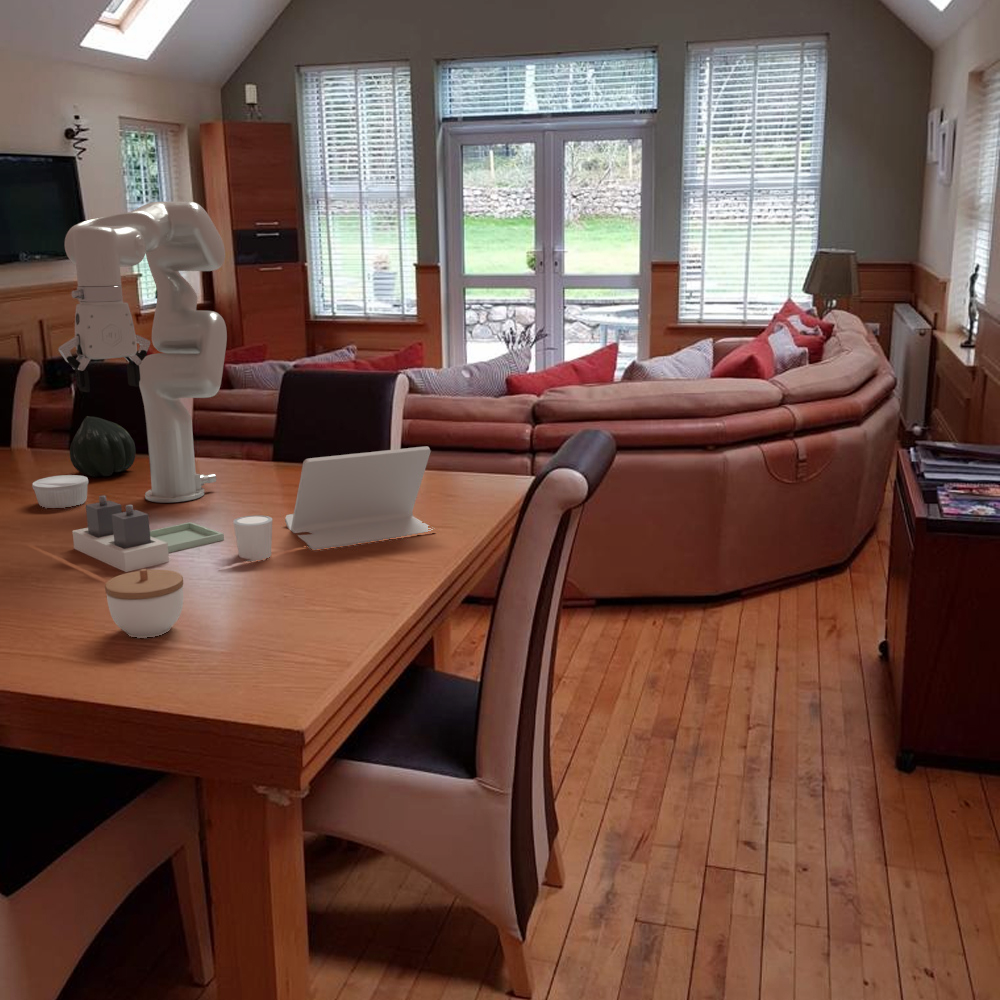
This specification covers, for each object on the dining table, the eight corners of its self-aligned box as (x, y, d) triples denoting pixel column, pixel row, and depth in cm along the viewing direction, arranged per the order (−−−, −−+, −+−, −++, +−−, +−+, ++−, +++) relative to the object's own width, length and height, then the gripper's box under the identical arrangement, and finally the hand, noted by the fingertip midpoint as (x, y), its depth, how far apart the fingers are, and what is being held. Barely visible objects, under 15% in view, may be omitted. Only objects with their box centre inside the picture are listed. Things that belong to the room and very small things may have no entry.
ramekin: (37, 513, 219) (34, 488, 218) (32, 501, 228) (30, 478, 227) (93, 506, 224) (91, 482, 223) (87, 495, 234) (84, 472, 232)
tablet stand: (437, 534, 202) (435, 448, 198) (313, 552, 191) (308, 461, 187) (401, 513, 218) (398, 433, 214) (284, 529, 206) (279, 444, 202)
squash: (154, 450, 255) (122, 402, 257) (103, 464, 243) (69, 413, 245) (130, 483, 263) (99, 435, 265) (79, 497, 251) (47, 448, 253)
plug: (152, 558, 184) (147, 505, 182) (128, 563, 181) (122, 510, 178) (139, 553, 187) (135, 501, 185) (116, 558, 184) (110, 505, 181)
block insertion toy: (116, 542, 197) (110, 488, 194) (169, 564, 183) (164, 506, 181) (74, 551, 191) (68, 495, 189) (126, 575, 178) (120, 515, 175)
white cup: (281, 553, 190) (279, 516, 188) (261, 564, 183) (259, 526, 182) (249, 550, 192) (246, 513, 190) (227, 560, 186) (225, 522, 184)
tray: (191, 530, 205) (190, 522, 204) (224, 542, 196) (223, 533, 196) (133, 543, 196) (132, 534, 196) (165, 556, 188) (164, 547, 188)
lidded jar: (121, 619, 157) (115, 559, 155) (193, 616, 158) (188, 557, 156) (100, 646, 147) (94, 582, 145) (178, 643, 148) (173, 580, 146)
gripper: (63, 298, 183) (73, 395, 188) (154, 294, 195) (162, 385, 200) (45, 297, 189) (55, 391, 193) (135, 293, 201) (143, 382, 205)
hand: (109, 388), depth 196 cm, fingers open, 9 cm apart
